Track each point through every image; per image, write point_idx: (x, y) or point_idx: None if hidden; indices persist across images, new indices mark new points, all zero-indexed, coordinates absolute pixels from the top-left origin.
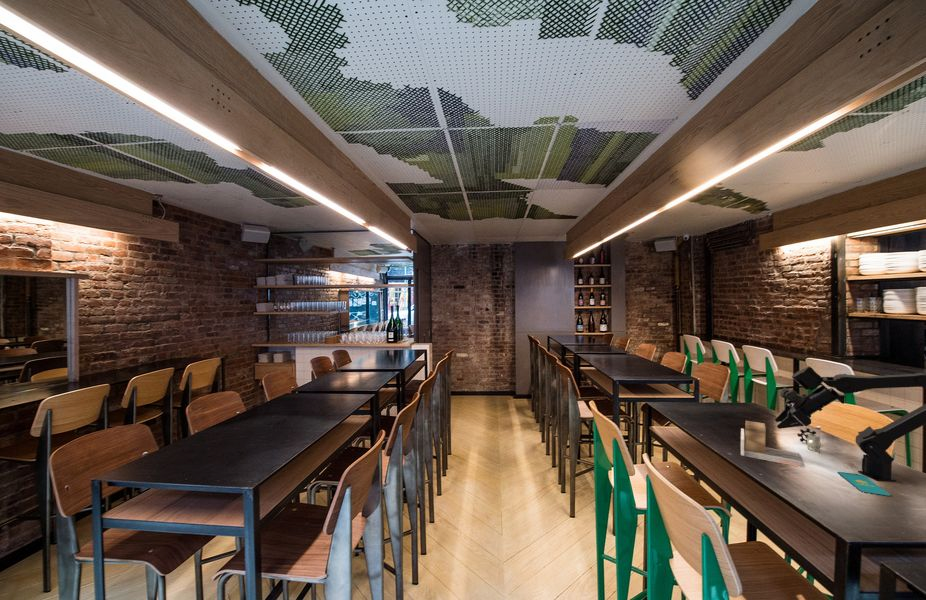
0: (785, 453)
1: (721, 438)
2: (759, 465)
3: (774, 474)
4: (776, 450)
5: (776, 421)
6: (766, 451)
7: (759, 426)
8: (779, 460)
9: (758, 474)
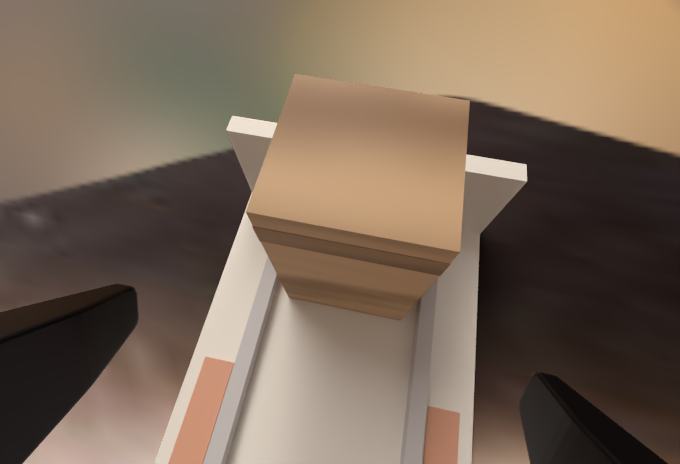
0: (402, 457)
1: (526, 153)
2: (153, 242)
3: (35, 281)
4: (409, 397)
5: (524, 396)
6: (390, 331)
7: (289, 169)
8: (232, 365)
9: (27, 208)
